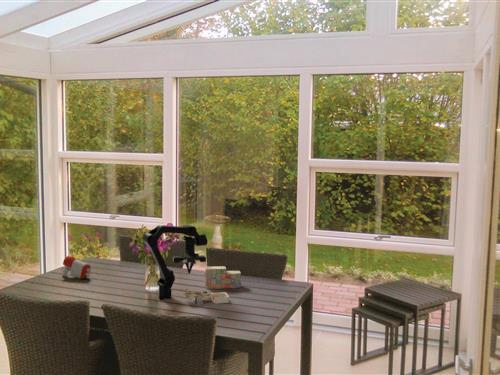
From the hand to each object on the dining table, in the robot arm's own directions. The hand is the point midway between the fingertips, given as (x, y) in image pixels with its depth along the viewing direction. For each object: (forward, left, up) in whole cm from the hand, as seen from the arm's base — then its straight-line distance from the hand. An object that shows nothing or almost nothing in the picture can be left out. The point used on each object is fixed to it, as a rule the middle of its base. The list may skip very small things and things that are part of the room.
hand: (189, 273), depth 301 cm
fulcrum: (+2, -17, -12) cm, 21 cm away
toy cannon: (-64, +46, -12) cm, 80 cm away
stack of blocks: (+22, +8, -12) cm, 27 cm away
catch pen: (+15, -17, -12) cm, 25 cm away
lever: (+2, -13, -9) cm, 16 cm away
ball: (+12, -17, -10) cm, 23 cm away
